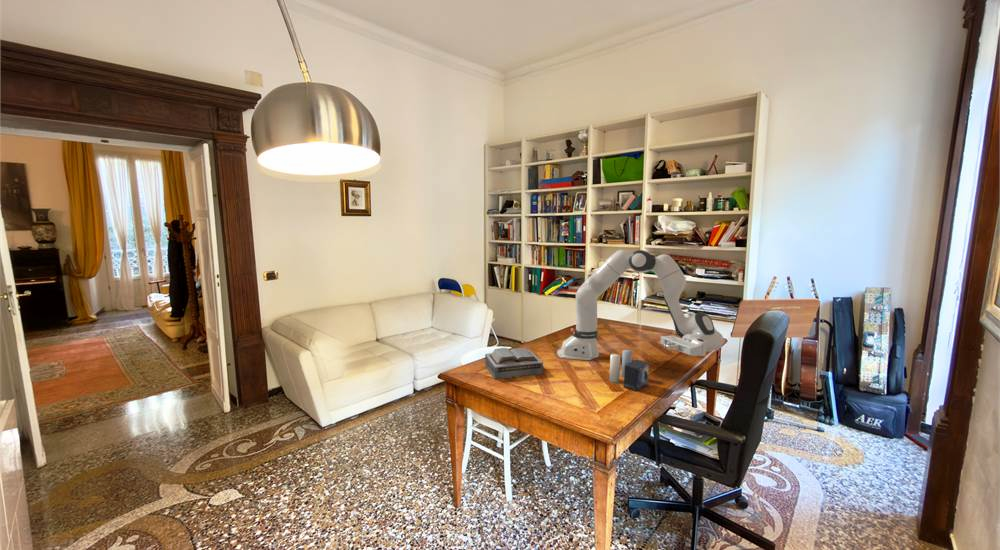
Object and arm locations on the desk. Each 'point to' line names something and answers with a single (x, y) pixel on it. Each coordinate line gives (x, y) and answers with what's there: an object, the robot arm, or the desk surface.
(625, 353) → the slate post
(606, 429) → the desk surface
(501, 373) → the bible
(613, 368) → the cream post
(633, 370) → the small box
